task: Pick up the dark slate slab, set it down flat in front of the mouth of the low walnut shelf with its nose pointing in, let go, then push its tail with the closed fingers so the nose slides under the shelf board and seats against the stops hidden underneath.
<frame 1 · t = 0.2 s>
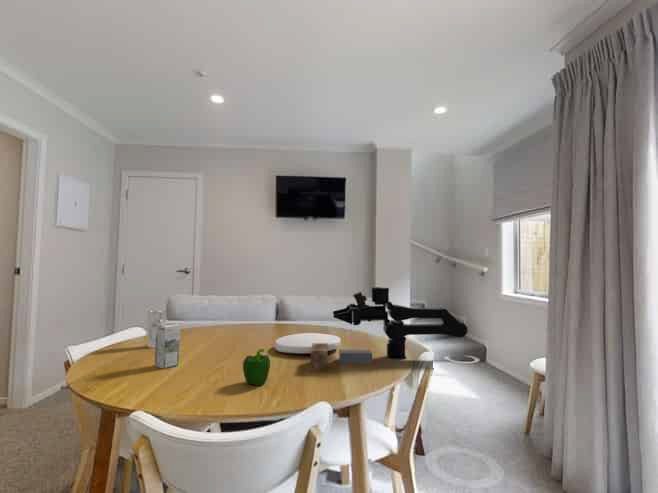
hand: (333, 314, 139), 16 cm above the table, tool horizontal, fingers open, 9 cm apart
walnut shelf: (320, 366, 125), on the table
beer glass: (155, 346, 151), on the table
syrup box: (166, 366, 123), on the table
bell pepper: (256, 383, 107), on the table
plate: (307, 350, 149), on the table
slate slab: (355, 362, 132), on the table
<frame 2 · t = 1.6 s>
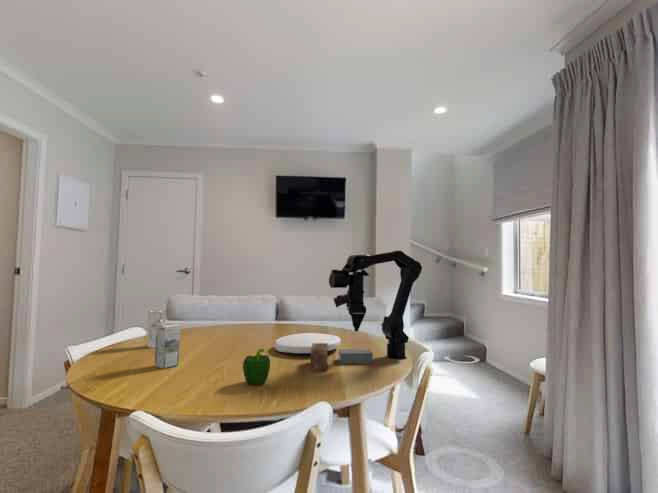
hand: (355, 329, 132), 12 cm above the table, tool pointing down, fingers open, 9 cm apart
nothing on the table moved.
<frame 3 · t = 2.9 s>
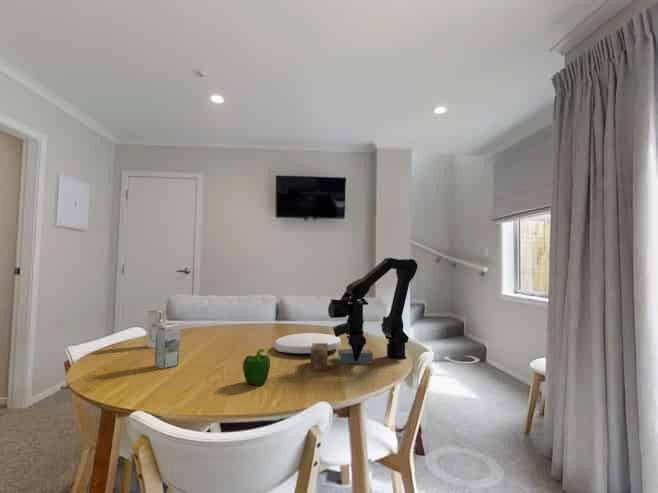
hand: (355, 358, 132), 1 cm above the table, tool pointing down, fingers closed on slate slab, 6 cm apart
slate slab: (355, 361, 132), on the table, touching gripper
everything else where it was.
when the fingers open (1 cm above the table, at t = 6.8 s): slate slab stays where it is, on the table.
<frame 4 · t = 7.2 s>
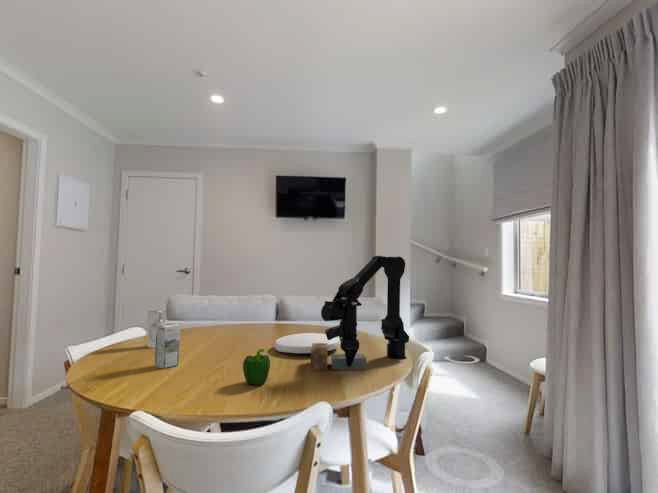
hand: (348, 362, 125), 1 cm above the table, tool pointing down, fingers open, 9 cm apart
slate slab: (348, 367, 125), on the table
everything else where it was.
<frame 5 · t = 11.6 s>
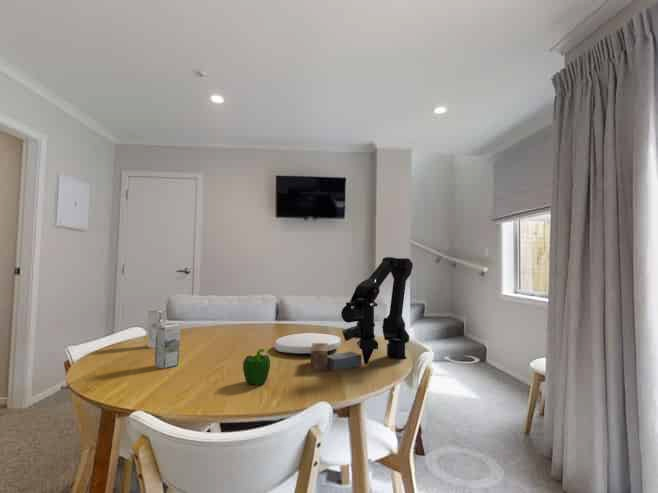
hand: (365, 363, 125), 1 cm above the table, tool pointing down, fingers closed
slate slab: (343, 366, 125), on the table, touching gripper
everything else where it was.
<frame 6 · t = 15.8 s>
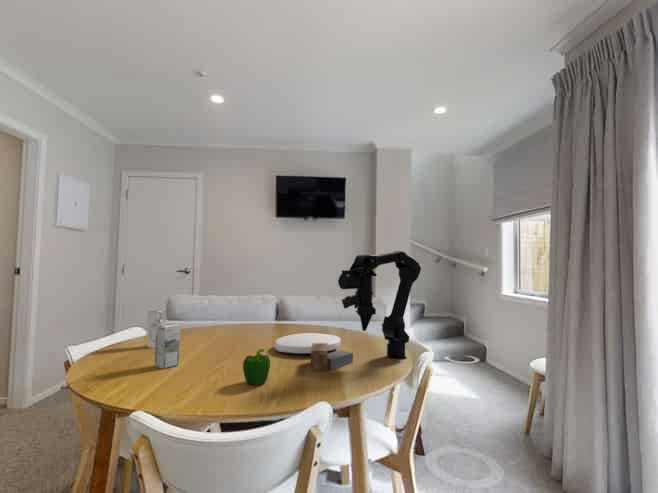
hand: (364, 330, 129), 12 cm above the table, tool pointing down, fingers closed
slate slab: (336, 365, 127), on the table
everything else where it was.
at the end: slate slab 2.4 cm from the target spot, on the table; slate slab tilted 0°; the gripper is holding nothing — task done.
